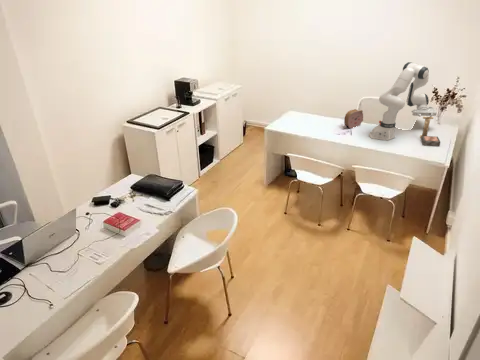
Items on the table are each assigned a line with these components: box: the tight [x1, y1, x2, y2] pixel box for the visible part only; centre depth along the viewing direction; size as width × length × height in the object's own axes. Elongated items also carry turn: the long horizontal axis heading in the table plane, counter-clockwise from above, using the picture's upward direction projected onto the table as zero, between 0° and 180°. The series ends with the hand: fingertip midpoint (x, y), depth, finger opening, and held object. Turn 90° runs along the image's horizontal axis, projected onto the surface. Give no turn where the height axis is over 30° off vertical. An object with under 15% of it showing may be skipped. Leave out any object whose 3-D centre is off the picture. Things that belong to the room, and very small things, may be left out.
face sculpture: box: [343, 108, 364, 129], centre depth 352 cm, size 20×7×17 cm, turn 119°
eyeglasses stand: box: [419, 116, 434, 139], centre depth 318 cm, size 8×7×20 cm
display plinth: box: [420, 135, 441, 147], centre depth 311 cm, size 13×12×4 cm
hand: (425, 115), depth 325 cm, fingers open, 8 cm apart
